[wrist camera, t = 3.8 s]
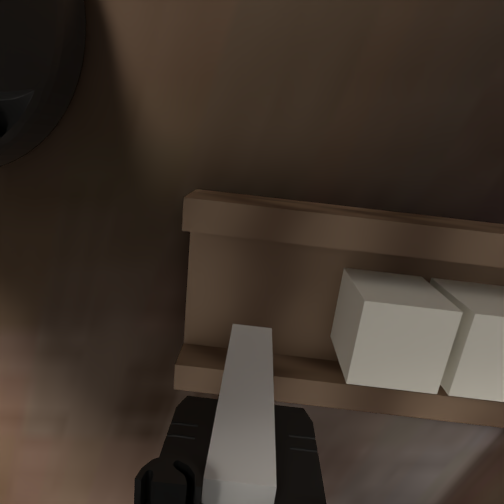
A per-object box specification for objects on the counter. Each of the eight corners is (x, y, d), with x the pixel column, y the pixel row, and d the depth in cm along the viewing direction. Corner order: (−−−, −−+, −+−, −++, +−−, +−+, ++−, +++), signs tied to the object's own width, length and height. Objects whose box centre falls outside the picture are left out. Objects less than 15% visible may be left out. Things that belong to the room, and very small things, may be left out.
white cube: (412, 345, 19) (448, 395, 16) (431, 277, 18) (475, 313, 14) (485, 354, 19) (539, 406, 16) (508, 286, 18) (573, 324, 14)
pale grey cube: (330, 336, 19) (346, 383, 16) (343, 267, 18) (364, 300, 14) (403, 344, 19) (437, 394, 16) (421, 276, 18) (462, 312, 14)
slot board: (186, 356, 21) (173, 389, 18) (196, 188, 18) (183, 197, 15) (518, 394, 21) (558, 434, 18) (583, 233, 18) (642, 250, 15)
